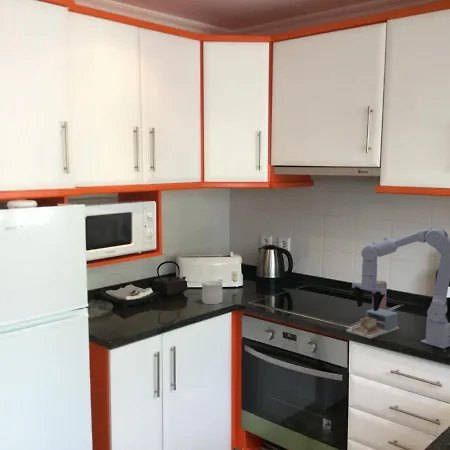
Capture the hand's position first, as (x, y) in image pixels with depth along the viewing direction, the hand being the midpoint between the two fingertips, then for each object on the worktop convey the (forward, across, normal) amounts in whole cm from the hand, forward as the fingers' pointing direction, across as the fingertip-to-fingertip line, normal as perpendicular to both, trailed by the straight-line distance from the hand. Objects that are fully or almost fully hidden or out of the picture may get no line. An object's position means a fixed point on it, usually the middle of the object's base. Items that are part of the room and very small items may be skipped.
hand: (367, 308), depth 218 cm
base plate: (+10, 0, -4) cm, 11 cm away
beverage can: (+10, +12, -26) cm, 30 cm away
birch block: (+9, 0, -1) cm, 9 cm away
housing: (+9, 0, -10) cm, 13 cm away
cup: (+10, +74, +20) cm, 77 cm away
